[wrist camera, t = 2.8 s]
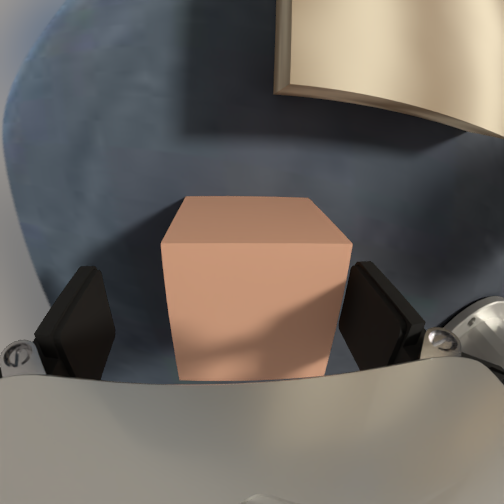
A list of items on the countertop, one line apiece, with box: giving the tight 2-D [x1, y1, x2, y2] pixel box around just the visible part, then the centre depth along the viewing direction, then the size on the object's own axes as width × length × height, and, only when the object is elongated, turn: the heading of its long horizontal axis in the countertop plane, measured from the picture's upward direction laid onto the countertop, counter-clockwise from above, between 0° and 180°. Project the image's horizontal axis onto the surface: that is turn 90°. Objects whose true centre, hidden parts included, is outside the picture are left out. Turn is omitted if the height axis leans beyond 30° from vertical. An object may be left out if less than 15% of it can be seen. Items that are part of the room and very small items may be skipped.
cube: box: [161, 196, 353, 381], centre depth 13 cm, size 6×6×6 cm
